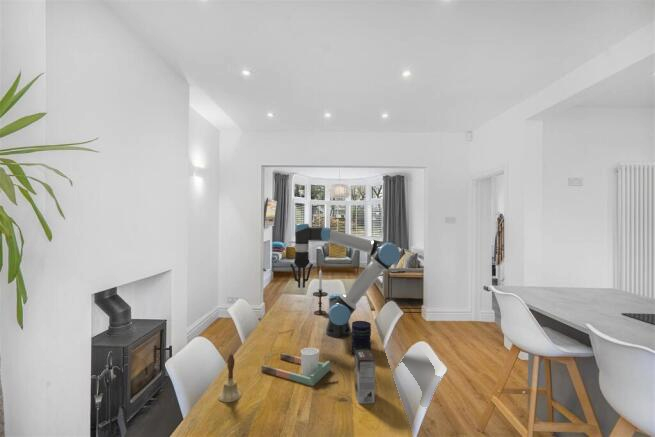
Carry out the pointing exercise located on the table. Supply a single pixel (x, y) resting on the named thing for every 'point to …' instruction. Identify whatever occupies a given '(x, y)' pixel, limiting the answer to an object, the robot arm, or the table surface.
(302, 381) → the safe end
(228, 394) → the hand bell
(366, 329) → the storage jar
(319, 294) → the candlestick
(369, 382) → the coffee box
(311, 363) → the white cup
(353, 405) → the table surface
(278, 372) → the walls
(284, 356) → the lane walls
